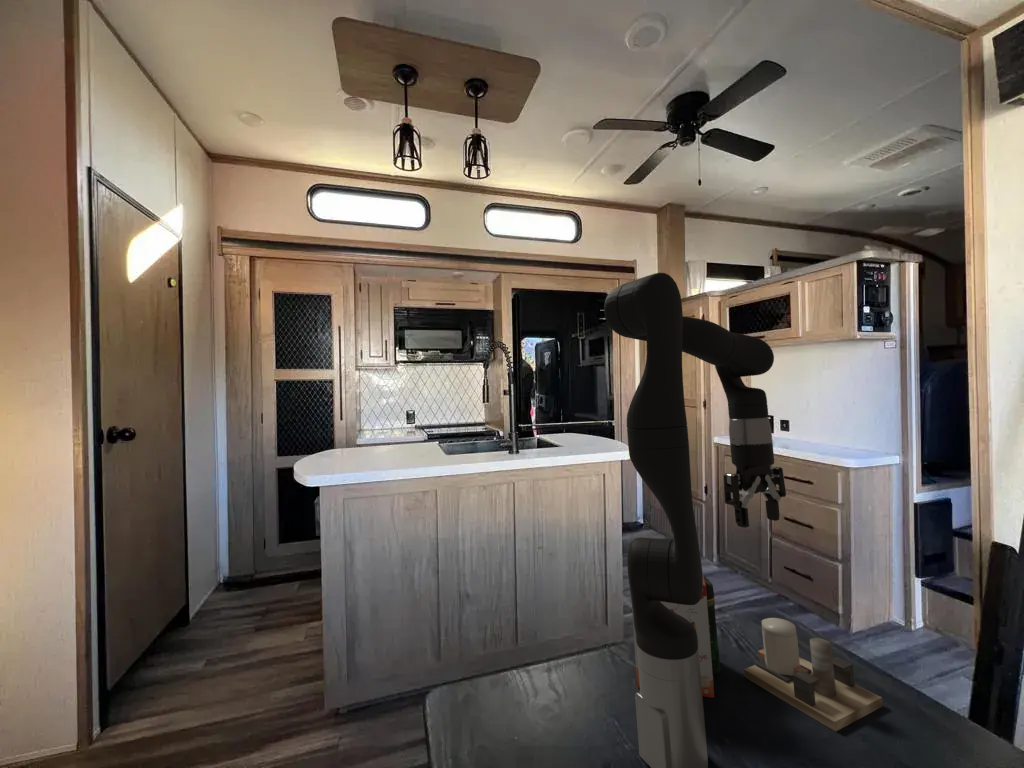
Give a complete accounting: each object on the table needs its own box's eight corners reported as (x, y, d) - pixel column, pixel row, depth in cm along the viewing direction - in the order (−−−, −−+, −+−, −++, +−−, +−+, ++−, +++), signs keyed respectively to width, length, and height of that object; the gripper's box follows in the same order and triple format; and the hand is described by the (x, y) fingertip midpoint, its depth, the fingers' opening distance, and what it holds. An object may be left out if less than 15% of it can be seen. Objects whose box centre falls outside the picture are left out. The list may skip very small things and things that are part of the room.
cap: (751, 660, 90) (747, 619, 91) (769, 651, 93) (766, 612, 93) (796, 683, 82) (792, 638, 83) (815, 673, 85) (810, 630, 85)
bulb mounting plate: (835, 731, 72) (829, 667, 73) (744, 677, 88) (739, 625, 89) (882, 706, 78) (876, 646, 78) (788, 659, 93) (784, 609, 94)
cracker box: (637, 689, 86) (628, 579, 88) (638, 671, 92) (630, 568, 93) (716, 700, 82) (706, 583, 83) (712, 681, 87) (703, 572, 89)
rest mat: (787, 683, 83) (786, 680, 83) (755, 665, 89) (755, 663, 89) (811, 672, 86) (811, 670, 86) (779, 655, 92) (779, 653, 92)
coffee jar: (726, 678, 88) (718, 582, 89) (685, 679, 89) (677, 583, 90) (709, 652, 98) (701, 565, 99) (672, 652, 98) (665, 566, 99)
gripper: (758, 437, 95) (766, 514, 94) (709, 443, 90) (716, 525, 89) (792, 438, 88) (801, 521, 87) (741, 444, 83) (749, 533, 82)
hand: (758, 523), depth 88 cm, fingers open, 8 cm apart
